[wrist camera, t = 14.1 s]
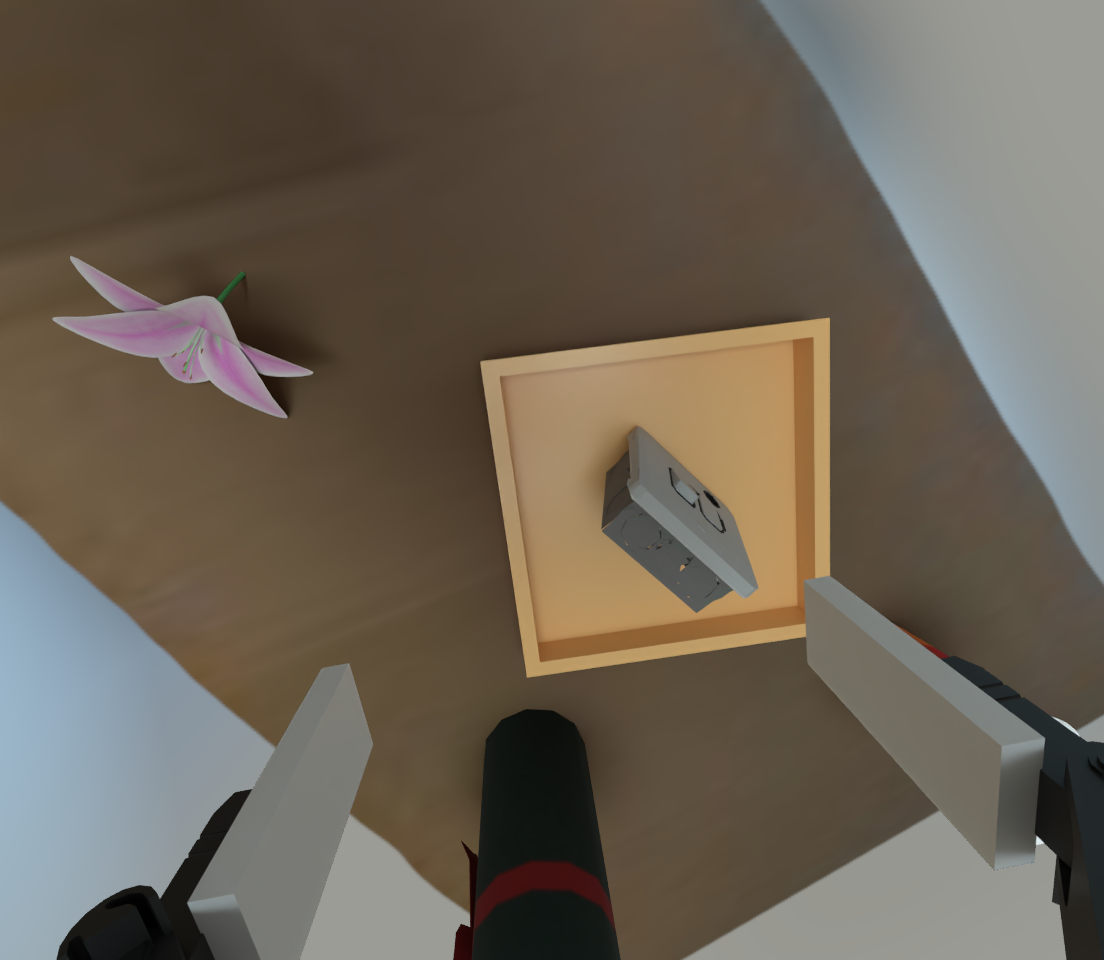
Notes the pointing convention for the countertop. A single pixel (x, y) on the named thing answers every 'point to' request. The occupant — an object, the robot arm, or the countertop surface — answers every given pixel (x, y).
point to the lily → (183, 339)
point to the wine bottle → (537, 850)
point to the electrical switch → (674, 525)
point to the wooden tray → (695, 442)
